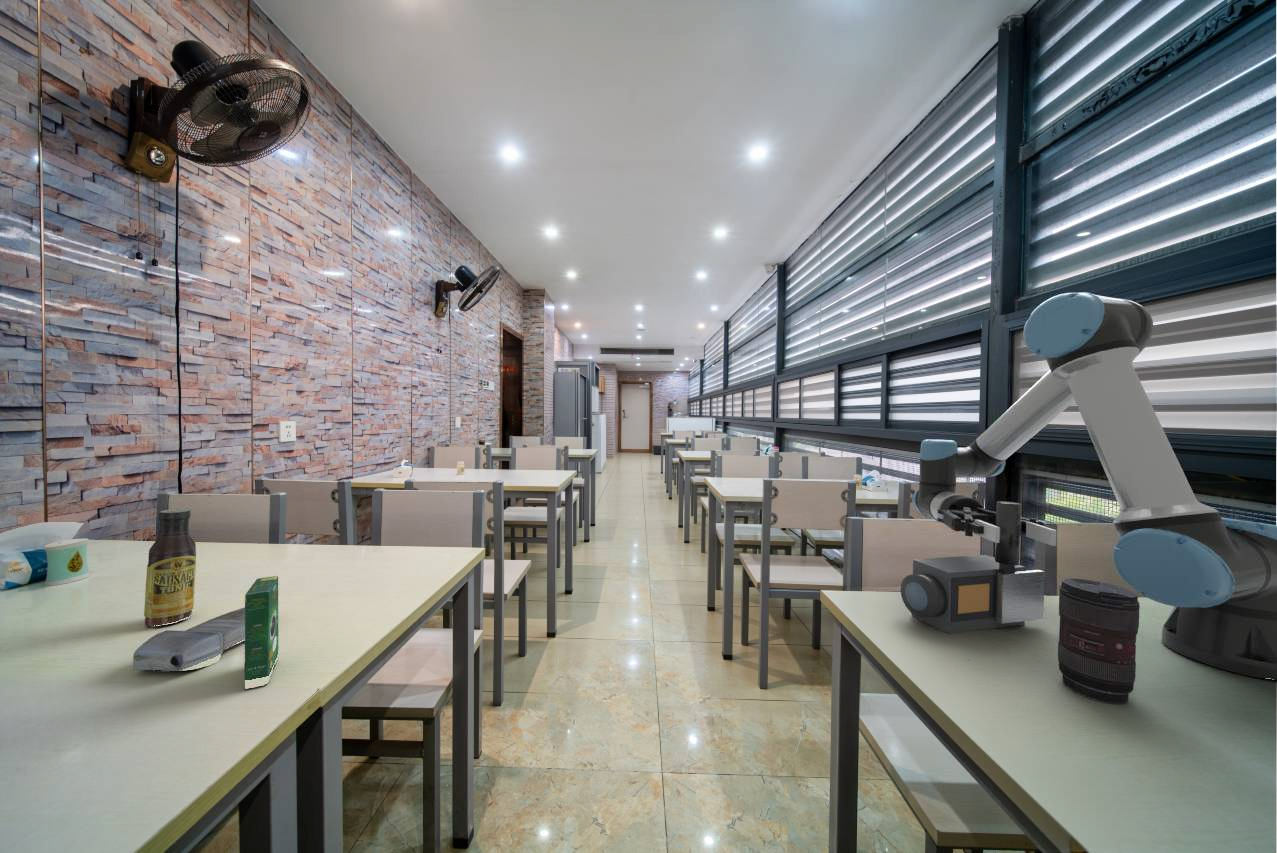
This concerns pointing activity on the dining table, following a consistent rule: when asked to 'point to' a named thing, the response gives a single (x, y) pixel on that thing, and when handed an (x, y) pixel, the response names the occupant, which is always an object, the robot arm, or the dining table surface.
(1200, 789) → the dining table surface
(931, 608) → the camera housing
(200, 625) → the handheld device
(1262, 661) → the robot arm
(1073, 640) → the camera lens
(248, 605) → the coffee box
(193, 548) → the sauce bottle
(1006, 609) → the side door
